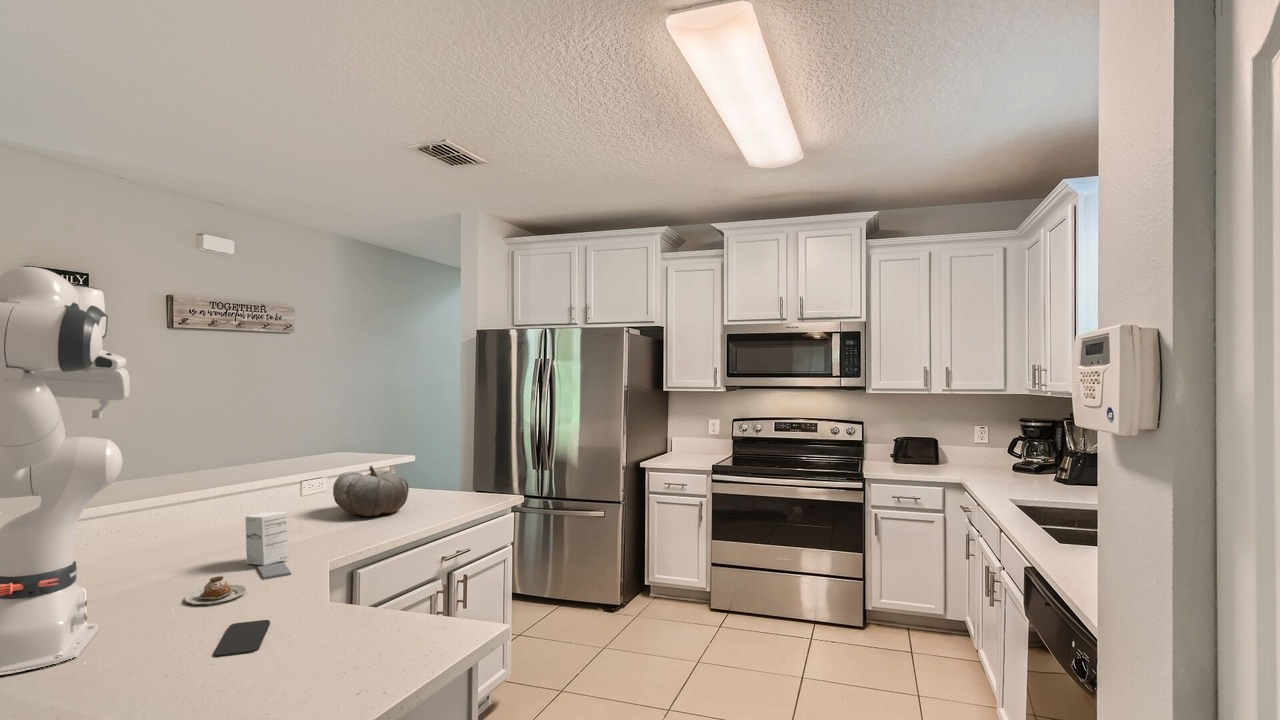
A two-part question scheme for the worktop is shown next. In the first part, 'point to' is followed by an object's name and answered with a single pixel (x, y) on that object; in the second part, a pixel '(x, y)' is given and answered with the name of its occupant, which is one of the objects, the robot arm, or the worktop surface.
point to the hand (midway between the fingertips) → (71, 416)
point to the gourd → (370, 492)
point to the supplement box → (267, 538)
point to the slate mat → (274, 570)
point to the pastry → (215, 592)
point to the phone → (242, 638)
